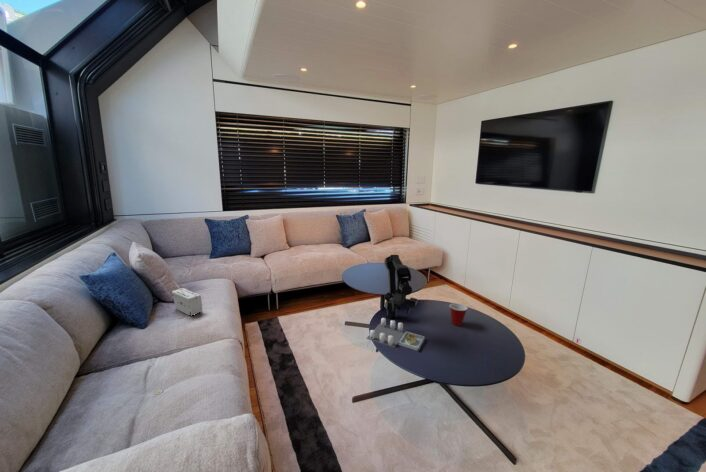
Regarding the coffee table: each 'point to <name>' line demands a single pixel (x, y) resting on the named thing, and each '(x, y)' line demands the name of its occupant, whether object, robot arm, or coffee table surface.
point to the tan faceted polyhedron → (411, 339)
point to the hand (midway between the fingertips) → (399, 312)
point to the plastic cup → (457, 313)
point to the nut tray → (414, 346)
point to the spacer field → (387, 333)
